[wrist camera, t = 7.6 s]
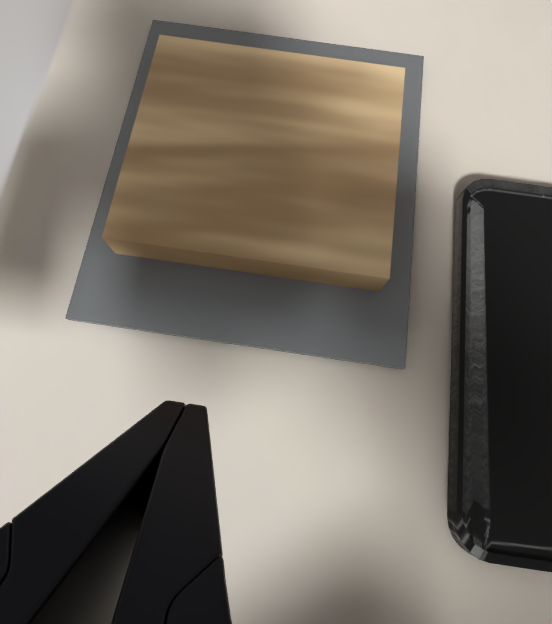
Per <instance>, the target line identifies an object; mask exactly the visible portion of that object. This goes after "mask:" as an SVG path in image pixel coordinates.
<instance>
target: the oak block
mask: <svg viewBox="0 0 552 624" xmlns="http://www.w3.org/2000/svg"><path fill="white" fill-rule="evenodd" d="M404 79H405V68H403V67H395V66H388V65H381V64H373V63H366V62H358V61H351V60H344V59H336V58H329V57H321V56H314V55H307V54H299V53H292V52H284V51H277V50H269V49H262V48H255V47H247V46H240V45H232V44H225V43H218V42H210V41H203V40H195V39H188V38H181V37H173V36H166V35H159V38H158V42H157V45H156V49H155V52H154V56H153V59H152V63H151V66H150V70H149V73H148V77H147V80H146V84H145V87H144V91H143V94H142V98H141V101H140V105H139V108H138V112H137V115H136V119H135V122H134V126H133V129H132V133H131V136H130V140H129V143H128V147H127V150H126V154H125V157H124V161H123V164H122V168H121V171H120V175H119V178H118V182H117V185H116V189H115V192H114V196H113V199H112V203H111V206H110V210H109V213H108V217H107V220H106V224H105V227H104V231H103V234H102V238H103V240H104V241H105V242H106V243H107V244H108V245H109V247H110V248H111V249H112V250H113V251H114V252H115V254H122V255H129V256H136V257H143V258H150V259H157V260H164V261H171V262H178V263H185V264H192V265H199V266H205V267H212V268H219V269H226V270H233V271H240V272H247V273H254V274H261V275H268V276H275V277H282V278H289V279H295V280H302V281H309V282H316V283H323V284H330V285H337V286H344V287H351V288H358V289H365V290H372V291H380V290H381V289H382V288H383V286H384V285H385V284H386V283H387V281H388V280H389V279H390V267H391V254H392V240H393V227H394V213H395V200H396V186H397V173H398V159H399V146H400V132H401V119H402V105H403V92H404Z"/></svg>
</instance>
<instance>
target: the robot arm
mask: <svg viewBox="0 0 552 624" xmlns="http://www.w3.org/2000/svg"><path fill="white" fill-rule="evenodd" d="M222 555H223V553H222V544H221V535H220V526H219V516H218V507H217V498H216V488H215V479H214V470H213V460H212V451H211V442H210V432H209V423H208V414H207V408H206V407H205V406H201V405H194V404H188V405H185V404H184V403H182V402H175V401H165V402H163V403H162V404H160V405H159V406H158V407H157V408H155V409H154V410H153V411H151V412H150V413H149V414H148V415H146V416H145V417H144V418H142V419H141V420H140V421H138V422H137V423H136V424H135V425H133V426H132V427H131V428H129V429H128V430H127V431H126V432H124V433H123V434H122V435H120V436H119V437H118V438H116V439H115V440H114V441H113V442H111V443H110V444H109V445H107V446H106V447H105V448H103V449H102V450H101V451H100V452H98V453H97V454H96V455H94V456H93V457H92V458H91V459H89V460H88V461H87V462H85V463H84V464H83V465H81V466H80V467H79V468H78V469H76V470H75V471H74V472H72V473H71V474H70V475H69V476H67V477H66V478H65V479H63V480H62V481H61V482H59V483H58V484H57V485H56V486H54V487H53V488H52V489H50V490H49V491H48V492H46V493H45V494H44V495H43V496H41V497H40V498H39V499H37V500H36V501H35V502H34V503H32V504H31V505H30V506H28V507H27V508H26V509H24V510H23V511H22V512H21V513H19V514H18V515H17V516H15V517H14V518H13V519H12V524H11V523H10V522H8V523H6V524H5V525H3V526H2V527H1V528H0V624H232V621H231V615H230V608H229V601H228V594H227V587H226V580H225V570H224V561H223V558H222Z"/></svg>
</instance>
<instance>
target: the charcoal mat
mask: <svg viewBox="0 0 552 624" xmlns="http://www.w3.org/2000/svg"><path fill="white" fill-rule="evenodd" d="M159 35H166V36H173V37H181V38H188V39H195V40H203V41H210V42H218V43H225V44H232V45H240V46H247V47H255V48H262V49H269V50H277V51H284V52H292V53H299V54H307V55H314V56H321V57H329V58H336V59H344V60H351V61H358V62H366V63H373V64H381V65H388V66H395V67H403V68H405V79H404V92H403V105H402V119H401V132H400V146H399V159H398V173H397V186H396V200H395V213H394V227H393V240H392V254H391V267H390V279H389V280H388V281H387V283H386V284H385V285H384V286H383V288H382V289H381V290H380V291H372V290H365V289H358V288H351V287H344V286H337V285H330V284H323V283H316V282H309V281H302V280H295V279H289V278H282V277H275V276H268V275H261V274H254V273H247V272H240V271H233V270H226V269H219V268H212V267H205V266H199V265H192V264H185V263H178V262H171V261H164V260H157V259H150V258H143V257H136V256H129V255H122V254H115V252H114V251H113V250H112V249H111V248H110V247H109V245H108V244H107V243H106V242H105V241H104V240H103V238H102V234H103V231H104V227H105V224H106V220H107V217H108V213H109V210H110V206H111V203H112V199H113V196H114V192H115V189H116V185H117V182H118V178H119V175H120V171H121V168H122V164H123V161H124V157H125V154H126V150H127V147H128V143H129V140H130V136H131V133H132V129H133V126H134V122H135V119H136V115H137V112H138V108H139V105H140V101H141V98H142V94H143V91H144V87H145V84H146V80H147V77H148V73H149V70H150V66H151V63H152V59H153V56H154V52H155V49H156V45H157V42H158V38H159ZM423 59H424V56H418V55H411V54H403V53H396V52H388V51H381V50H373V49H366V48H359V47H351V46H344V45H336V44H329V43H321V42H314V41H306V40H299V39H292V38H284V37H277V36H269V35H262V34H254V33H247V32H239V31H232V30H225V29H217V28H210V27H202V26H195V25H187V24H180V23H172V22H165V21H158V20H153V22H152V26H151V29H150V33H149V36H148V39H147V43H146V46H145V50H144V53H143V56H142V60H141V63H140V66H139V70H138V73H137V77H136V80H135V83H134V87H133V90H132V94H131V97H130V100H129V104H128V107H127V111H126V114H125V117H124V121H123V124H122V128H121V131H120V134H119V138H118V141H117V145H116V148H115V151H114V155H113V158H112V161H111V165H110V168H109V172H108V175H107V178H106V182H105V185H104V189H103V192H102V195H101V199H100V202H99V206H98V209H97V212H96V216H95V219H94V223H93V226H92V229H91V233H90V236H89V240H88V243H87V246H86V250H85V253H84V256H83V260H82V263H81V267H80V270H79V273H78V277H77V280H76V284H75V287H74V290H73V294H72V297H71V301H70V304H69V307H68V311H67V314H66V319H68V320H73V321H80V322H87V323H94V324H101V325H107V326H114V327H121V328H128V329H134V330H141V331H148V332H155V333H162V334H168V335H175V336H182V337H189V338H196V339H202V340H209V341H216V342H223V343H229V344H236V345H243V346H250V347H257V348H263V349H270V350H277V351H284V352H290V353H297V354H304V355H311V356H318V357H324V358H331V359H338V360H345V361H351V362H358V363H365V364H372V365H379V366H385V367H392V368H399V369H404V368H405V361H406V344H407V327H408V310H409V294H410V277H411V260H412V243H413V227H414V210H415V193H416V176H417V160H418V143H419V126H420V109H421V93H422V76H423Z"/></svg>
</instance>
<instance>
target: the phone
mask: <svg viewBox="0 0 552 624" xmlns="http://www.w3.org/2000/svg"><path fill="white" fill-rule="evenodd" d="M447 517H448V525H449V529H450V531H451V534H452V536H453V538H454V539H455V541H456V542H457V543H458V545H459V546H460V547H461V548H463V549H464V550H465V551H467V552H468V553H470V554H471V555H473V556H475V557H476V558H478V559H479V560H482V561H486V562H489V563H494V564H500V565H507V566H514V567H520V568H527V569H534V570H540V571H547V572H552V187H544V186H537V185H530V184H522V183H515V182H508V181H500V180H493V179H480V180H477V181H474V182H473V183H471V184H470V185H469V186H468V187H467V188H466V189H465V190H464V191H463V193H462V194H461V195H460V196H459V198H458V199H457V201H456V205H455V226H454V267H453V308H452V349H451V389H450V430H449V471H448V512H447Z"/></svg>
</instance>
